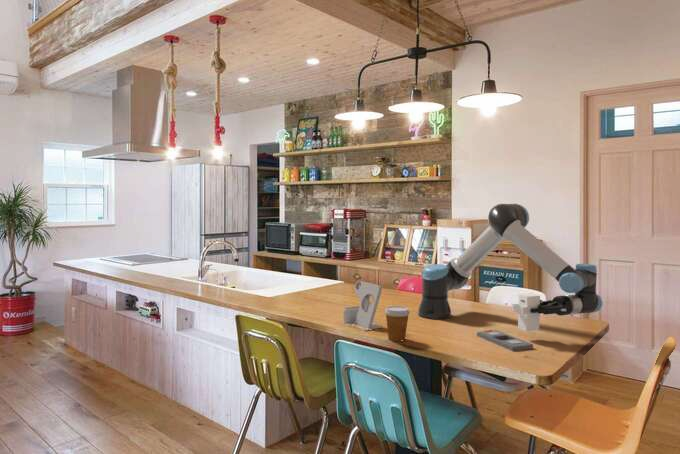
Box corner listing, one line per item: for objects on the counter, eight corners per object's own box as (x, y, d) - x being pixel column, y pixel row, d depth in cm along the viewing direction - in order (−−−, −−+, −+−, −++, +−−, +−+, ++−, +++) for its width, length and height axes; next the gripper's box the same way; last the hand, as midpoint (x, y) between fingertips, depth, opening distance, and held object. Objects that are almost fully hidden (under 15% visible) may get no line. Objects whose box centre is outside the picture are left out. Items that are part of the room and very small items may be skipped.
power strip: (476, 339, 187) (477, 330, 187) (496, 337, 190) (496, 328, 190) (512, 355, 168) (512, 344, 168) (532, 352, 172) (533, 342, 171)
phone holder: (340, 322, 211) (340, 281, 210) (358, 319, 217) (359, 279, 216) (365, 331, 197) (365, 287, 196) (384, 328, 203) (384, 285, 202)
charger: (517, 328, 184) (518, 294, 183) (530, 327, 186) (531, 293, 185) (526, 331, 180) (526, 296, 179) (539, 330, 182) (540, 295, 181)
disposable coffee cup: (406, 335, 191) (407, 305, 191) (411, 342, 182) (411, 311, 181) (382, 335, 191) (383, 305, 190) (385, 342, 181) (386, 311, 181)
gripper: (584, 319, 181) (534, 324, 172) (548, 310, 197) (501, 314, 189) (584, 299, 180) (534, 303, 172) (549, 291, 197) (502, 295, 189)
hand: (517, 309), depth 180 cm, fingers closed on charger, 4 cm apart
